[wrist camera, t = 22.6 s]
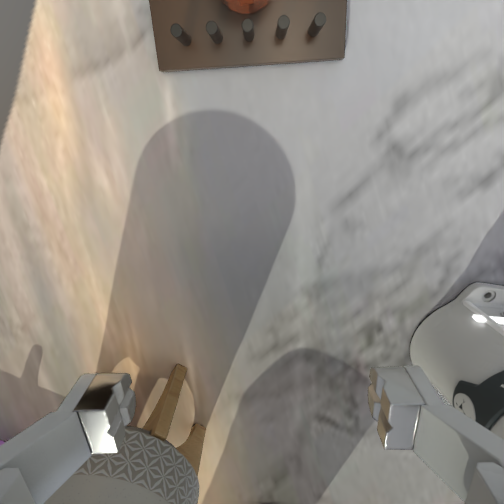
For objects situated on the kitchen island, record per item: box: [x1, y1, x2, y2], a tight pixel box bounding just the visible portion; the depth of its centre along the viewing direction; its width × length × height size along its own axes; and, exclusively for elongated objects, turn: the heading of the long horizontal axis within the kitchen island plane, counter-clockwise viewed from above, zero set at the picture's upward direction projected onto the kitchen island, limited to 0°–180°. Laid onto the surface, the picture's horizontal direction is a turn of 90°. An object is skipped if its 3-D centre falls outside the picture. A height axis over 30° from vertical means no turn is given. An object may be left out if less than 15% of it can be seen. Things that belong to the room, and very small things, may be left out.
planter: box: [43, 364, 206, 504], centre depth 39 cm, size 19×19×26 cm
